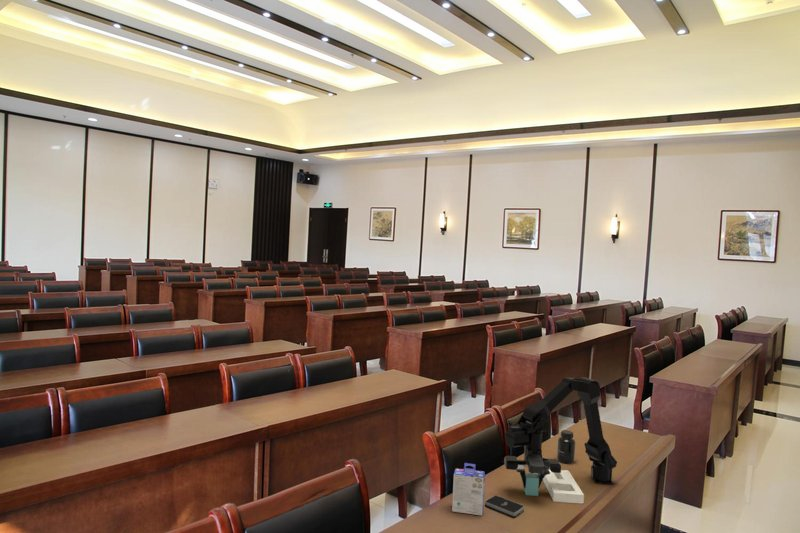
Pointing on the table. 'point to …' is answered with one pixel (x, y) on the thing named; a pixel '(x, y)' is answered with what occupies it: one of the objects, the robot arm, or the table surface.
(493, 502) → the external hard drive
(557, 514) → the table surface
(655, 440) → the table surface
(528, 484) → the square peg
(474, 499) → the ink cartridge box
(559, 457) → the supplement bottle
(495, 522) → the table surface
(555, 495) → the socket plate
